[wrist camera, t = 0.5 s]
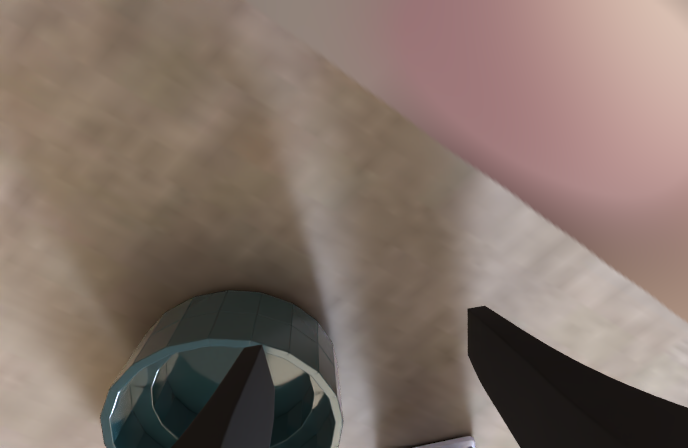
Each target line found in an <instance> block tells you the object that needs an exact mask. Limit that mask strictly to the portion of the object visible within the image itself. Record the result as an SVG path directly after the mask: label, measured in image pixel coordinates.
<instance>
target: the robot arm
mask: <svg viewBox="0 0 688 448" xmlns="http://www.w3.org/2000/svg"><path fill="white" fill-rule="evenodd" d="M468 356H469V358H470V361H471V363H472V365H473V367H474V370H475V372H476V374H477V376H478V378H479V380H480V382H481V384H482V386H483V387H484V389H485V391H486V392H487V394H488V396H489V397H490V399H491V401H492V402H493V404H494V405H495V407H496V409H497V410H498V412H499V414H500V415H501V417H502V418H503V420H504V422H505V423H506V425H507V427H508V428H509V430H510V431H511V433H512V435H513V436H514V438H515V440H516V441H517V443H518V444H519V446H520V448H688V408H687V407H684V406H681V405H678V404H675V403H673V402H670V401H667V400H664V399H662V398H659V397H656V396H654V395H651V394H649V393H646V392H644V391H641V390H639V389H636V388H634V387H632V386H629V385H627V384H624V383H622V382H620V381H617V380H615V379H613V378H611V377H608V376H606V375H604V374H602V373H600V372H598V371H596V370H594V369H592V368H589V367H587V366H585V365H583V364H581V363H579V362H577V361H575V360H574V359H572V358H570V357H568V356H566V355H564V354H563V353H561V352H559V351H557V350H555V349H553V348H552V347H550V346H548V345H547V344H545V343H543V342H541V341H540V340H538V339H536V338H535V337H533V336H531V335H530V334H528V333H527V332H525V331H523V330H522V329H520V328H519V327H517V326H516V325H514V324H512V323H511V322H509V321H508V320H506V319H505V318H503V317H502V316H500V315H498V314H497V313H495V312H494V311H492V310H491V309H489V308H487V307H486V306H481V307H475V308H469V309H468ZM274 401H275V388H274V384H273V381H272V377H271V374H270V370H269V367H268V363H267V360H266V356H265V353H264V349H263V346H262V345H256V346H250V347H244V349H243V350H242V351H241V353H240V354H239V356H238V357H237V359H236V361H235V362H234V364H233V365H232V367H231V368H230V370H229V371H228V373H227V374H226V376H225V377H224V379H223V380H222V382H221V383H220V385H219V386H218V387H217V389H216V390H215V392H214V393H213V395H212V396H211V398H210V399H209V400H208V402H207V403H206V404H205V406H204V407H203V408H202V410H201V411H200V412H199V414H198V415H197V416H196V418H195V419H194V420H193V421H192V423H191V424H190V425H189V427H188V428H187V429H186V430H185V432H184V433H183V434H182V435H181V436H180V438H179V439H178V440H177V441H176V442H175V444H174V445H173V446H172V447H171V448H270V442H271V435H272V428H273V421H274ZM414 448H476V446H475V440H474V438H473V437H472V436H466V437H461V438H456V439H451V440H447V441H442V442H437V443H433V444H428V445H423V446H418V447H414Z"/></svg>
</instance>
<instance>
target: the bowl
mask: <svg viewBox="0 0 688 448" xmlns="http://www.w3.org/2000/svg"><path fill="white" fill-rule="evenodd" d="M256 345H262V346H263V349H264V353H265V356H266V360H267V363H268V367H269V370H270V374H271V377H272V381H273V384H274V388H275V401H274V421H273V428H272V435H271V442H270V448H338V446H339V442H340V437H341V432H342V427H343V411H342V402H341V392H340V382H339V372H338V364H337V360H336V355H335V351H334V347H333V343H332V341H331V340H330V338H329V337H328V336H327V334H326V333H325V331H324V330H323V328H322V327H321V326H320V324H319V323H318V322H317V321H316V320H315V319H314V318H313V317H311V316H310V315H308V314H307V313H306V312H304V311H303V310H301V309H300V308H299V307H297V306H296V305H295V304H293V303H291V302H288V301H285V300H282V299H279V298H276V297H273V296H270V295H268V294H265V293H261V292H248V291H233V290H228V291H222V292H217V293H212V294H207V295H202V296H197V297H193V298H191V299H189V300H187V301H185V302H184V303H182V304H180V305H178V306H176V307H174V308H172V309H170V310H169V311H167V312H165V313H164V314H163V316H162V317H161V318H160V319H159V320H158V321H157V322H156V323H155V324H154V325H153V326H152V328H151V329H150V330H149V331H148V332H147V333H146V335H145V336H144V338H143V339H142V341H141V342H140V344H139V345H138V347H137V348H136V350H135V351H134V353H133V354H132V356H131V357H130V359H129V360H128V362H127V363H126V365H125V366H124V368H123V369H122V371H121V372H120V374H119V375H118V377H117V378H116V380H115V381H114V383H113V384H112V386H111V387H110V389H109V392H108V395H107V398H106V401H105V404H104V406H103V409H102V412H101V415H100V416H101V417H100V419H101V426H102V433H103V440H104V444H105V446H106V448H171V447H172V446H173V445H174V444H175V442H176V441H177V440H178V439H179V438H180V436H181V435H182V434H183V433H184V432H185V430H186V429H187V428H188V427H189V425H190V424H191V423H192V421H193V420H194V419H195V418H196V416H197V415H198V414H199V412H200V411H201V410H202V408H203V407H204V406H205V404H206V403H207V402H208V400H209V399H210V398H211V396H212V395H213V393H214V392H215V390H216V389H217V387H218V386H219V385H220V383H221V382H222V380H223V379H224V377H225V376H226V374H227V373H228V371H229V370H230V368H231V367H232V365H233V364H234V362H235V361H236V359H237V357H238V356H239V354H240V353H241V351H242V350H243V349H244V347H250V346H256Z"/></svg>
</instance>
